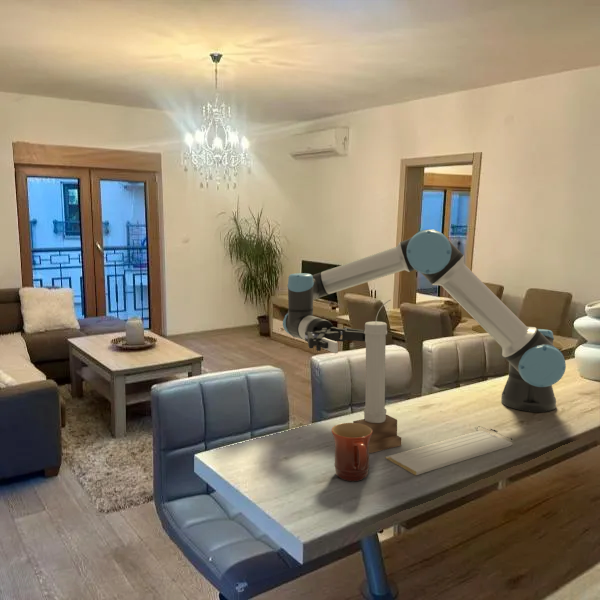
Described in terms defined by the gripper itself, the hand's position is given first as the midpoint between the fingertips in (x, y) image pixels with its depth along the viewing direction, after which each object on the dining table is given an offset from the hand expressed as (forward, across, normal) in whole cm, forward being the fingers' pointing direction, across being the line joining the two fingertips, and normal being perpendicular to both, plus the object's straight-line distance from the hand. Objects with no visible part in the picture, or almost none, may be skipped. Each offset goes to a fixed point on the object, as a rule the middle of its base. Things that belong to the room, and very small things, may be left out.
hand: (359, 344), depth 136 cm
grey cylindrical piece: (+7, -1, -18) cm, 19 cm away
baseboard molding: (+19, -13, -24) cm, 33 cm away
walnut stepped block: (+7, 0, -24) cm, 25 cm away
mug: (+20, +15, -24) cm, 34 cm away
